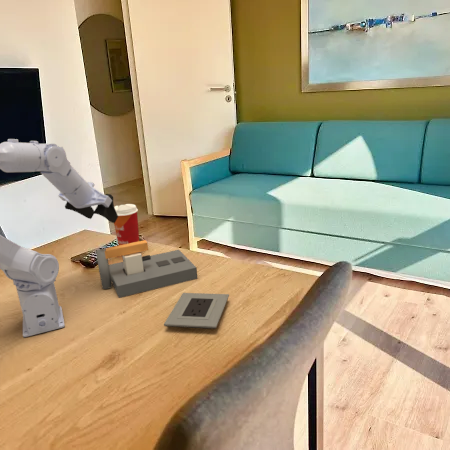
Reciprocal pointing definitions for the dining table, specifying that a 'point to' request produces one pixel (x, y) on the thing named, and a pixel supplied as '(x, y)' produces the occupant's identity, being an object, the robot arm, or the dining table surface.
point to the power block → (153, 273)
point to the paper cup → (126, 224)
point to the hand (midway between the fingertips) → (103, 217)
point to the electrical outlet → (197, 311)
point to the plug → (134, 263)
